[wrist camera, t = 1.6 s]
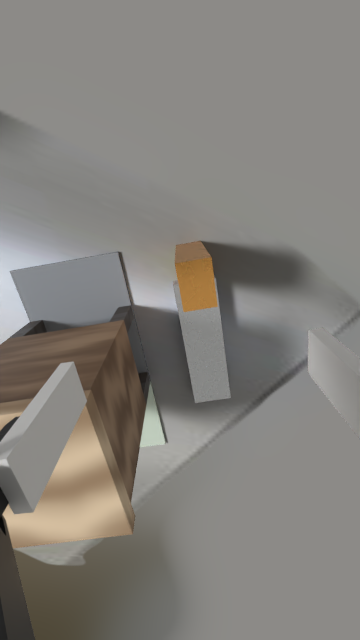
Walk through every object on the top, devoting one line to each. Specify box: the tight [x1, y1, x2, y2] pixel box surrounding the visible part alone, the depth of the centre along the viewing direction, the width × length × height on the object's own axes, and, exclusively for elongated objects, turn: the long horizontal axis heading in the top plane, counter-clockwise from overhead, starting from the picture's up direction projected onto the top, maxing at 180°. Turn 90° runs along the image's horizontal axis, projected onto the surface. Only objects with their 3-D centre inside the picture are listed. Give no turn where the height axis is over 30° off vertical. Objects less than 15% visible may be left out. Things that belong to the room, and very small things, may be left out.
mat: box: [10, 252, 166, 447], centre depth 47 cm, size 36×16×1 cm, turn 10°
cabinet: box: [0, 305, 150, 548], centre depth 34 cm, size 15×17×24 cm
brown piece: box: [173, 241, 231, 403], centre depth 38 cm, size 26×6×14 cm, turn 10°
